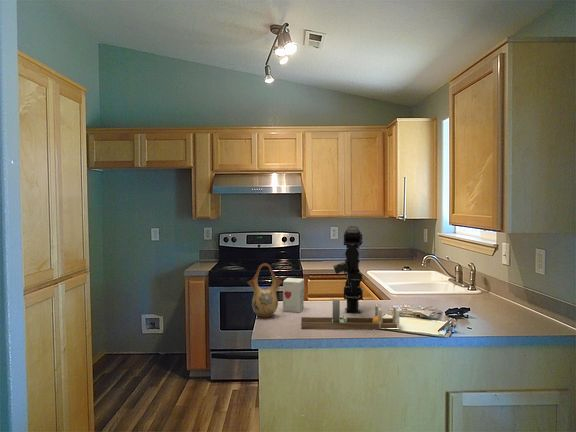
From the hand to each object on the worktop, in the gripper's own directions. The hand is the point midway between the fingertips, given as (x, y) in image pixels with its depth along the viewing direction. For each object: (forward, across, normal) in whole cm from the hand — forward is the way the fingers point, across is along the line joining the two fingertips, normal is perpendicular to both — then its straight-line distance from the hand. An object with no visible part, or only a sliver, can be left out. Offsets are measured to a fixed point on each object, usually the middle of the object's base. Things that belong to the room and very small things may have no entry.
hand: (352, 291), depth 174 cm
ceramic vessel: (+13, -4, -40) cm, 42 cm away
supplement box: (+13, -16, -27) cm, 34 cm away
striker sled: (+13, +9, -7) cm, 17 cm away
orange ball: (+11, +9, +10) cm, 17 cm away
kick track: (+13, +9, -3) cm, 16 cm away
